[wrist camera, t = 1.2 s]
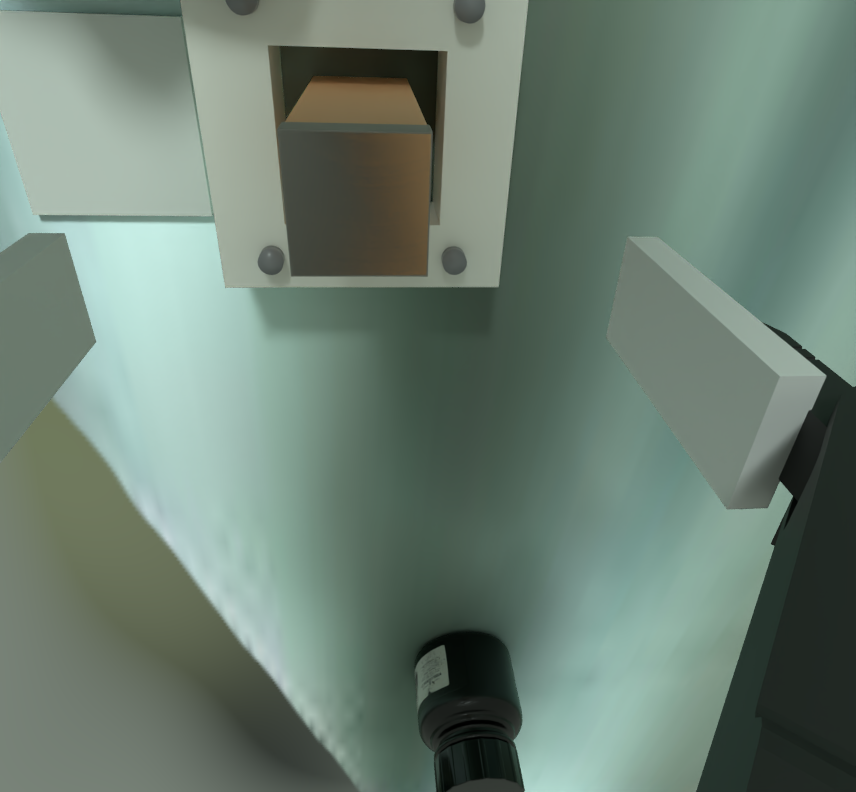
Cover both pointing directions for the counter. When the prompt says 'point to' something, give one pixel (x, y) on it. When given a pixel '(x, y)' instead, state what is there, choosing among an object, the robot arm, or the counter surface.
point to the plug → (356, 179)
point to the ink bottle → (469, 713)
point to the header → (265, 110)
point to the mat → (102, 114)
